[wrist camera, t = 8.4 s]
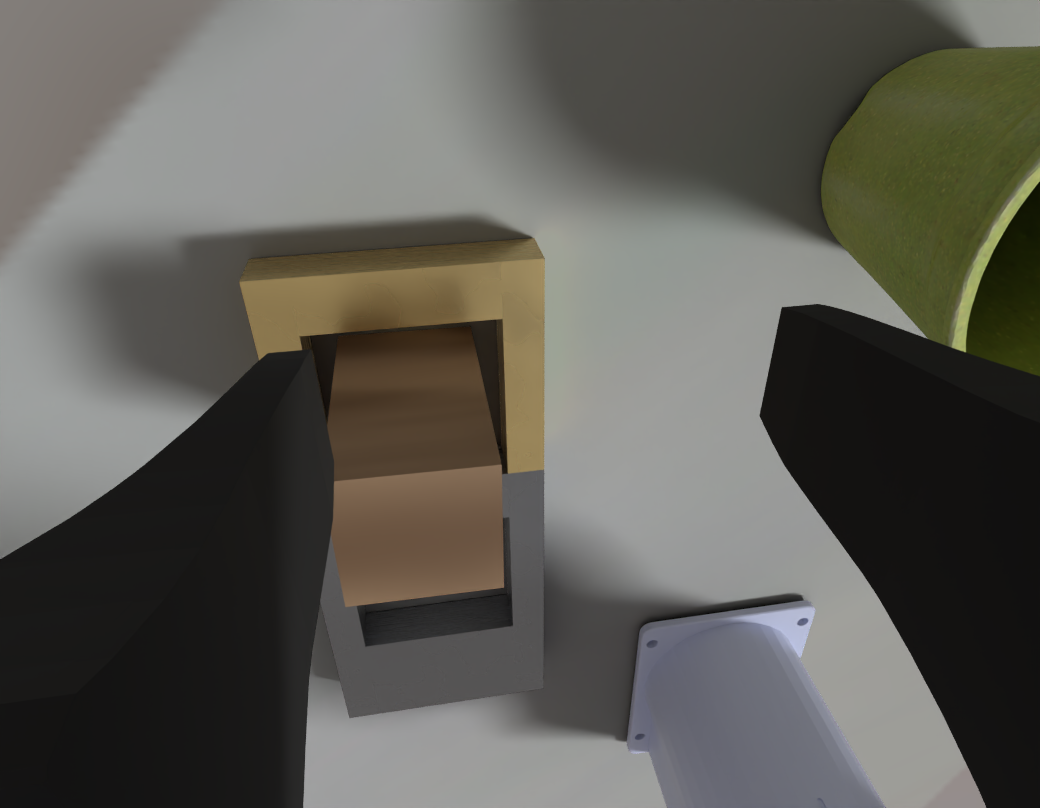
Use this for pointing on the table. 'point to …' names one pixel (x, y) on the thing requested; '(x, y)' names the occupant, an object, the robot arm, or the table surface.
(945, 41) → the table surface
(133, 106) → the table surface
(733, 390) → the table surface
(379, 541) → the walnut block
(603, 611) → the table surface
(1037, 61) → the plant pot
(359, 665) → the tray
